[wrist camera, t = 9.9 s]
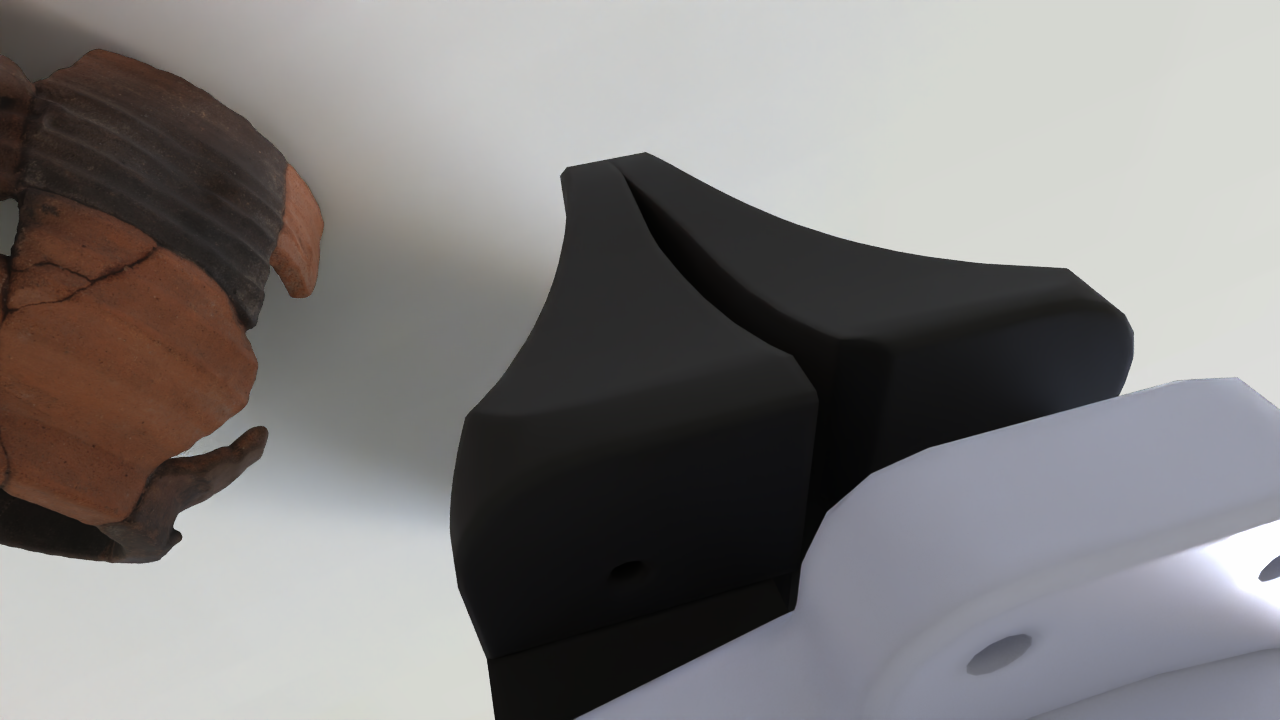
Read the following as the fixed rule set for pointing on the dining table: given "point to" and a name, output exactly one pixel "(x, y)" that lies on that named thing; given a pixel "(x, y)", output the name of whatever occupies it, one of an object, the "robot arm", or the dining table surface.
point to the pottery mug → (132, 300)
